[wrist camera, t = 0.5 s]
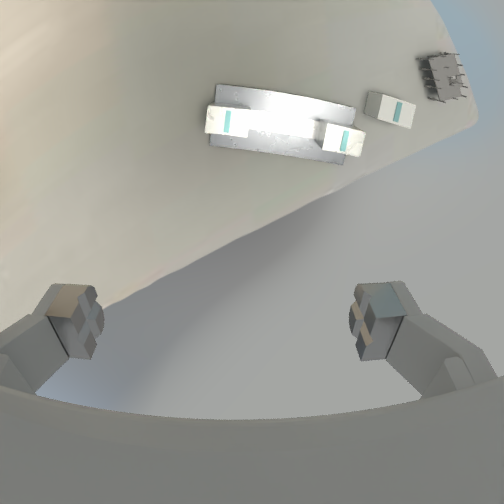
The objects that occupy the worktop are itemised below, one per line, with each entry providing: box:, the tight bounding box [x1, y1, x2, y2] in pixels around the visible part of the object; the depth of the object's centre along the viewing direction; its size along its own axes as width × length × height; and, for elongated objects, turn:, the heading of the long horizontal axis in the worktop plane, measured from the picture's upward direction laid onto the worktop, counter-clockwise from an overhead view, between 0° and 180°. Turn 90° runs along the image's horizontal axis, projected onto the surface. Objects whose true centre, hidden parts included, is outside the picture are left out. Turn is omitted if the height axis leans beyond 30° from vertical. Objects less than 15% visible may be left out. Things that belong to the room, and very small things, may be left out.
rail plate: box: [205, 84, 366, 165], centre depth 45 cm, size 10×23×6 cm, turn 82°
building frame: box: [417, 52, 468, 103], centre depth 40 cm, size 6×8×6 cm
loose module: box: [364, 91, 416, 129], centre depth 43 cm, size 4×6×6 cm, turn 82°
